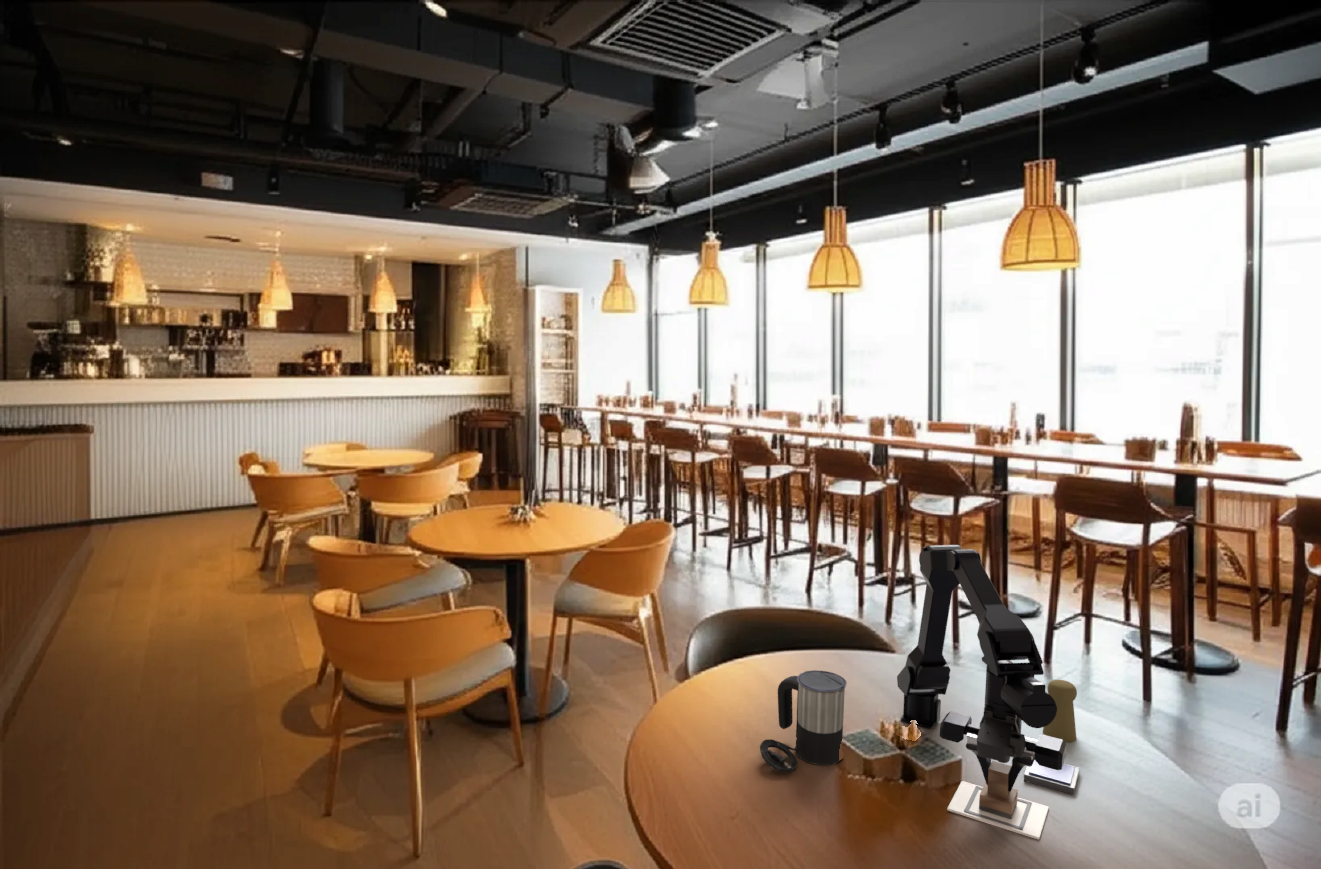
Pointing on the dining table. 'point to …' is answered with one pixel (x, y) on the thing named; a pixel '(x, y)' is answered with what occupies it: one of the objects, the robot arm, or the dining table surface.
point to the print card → (1023, 821)
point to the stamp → (998, 792)
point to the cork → (1062, 711)
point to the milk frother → (810, 720)
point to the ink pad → (1053, 777)
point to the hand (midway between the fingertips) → (999, 787)
